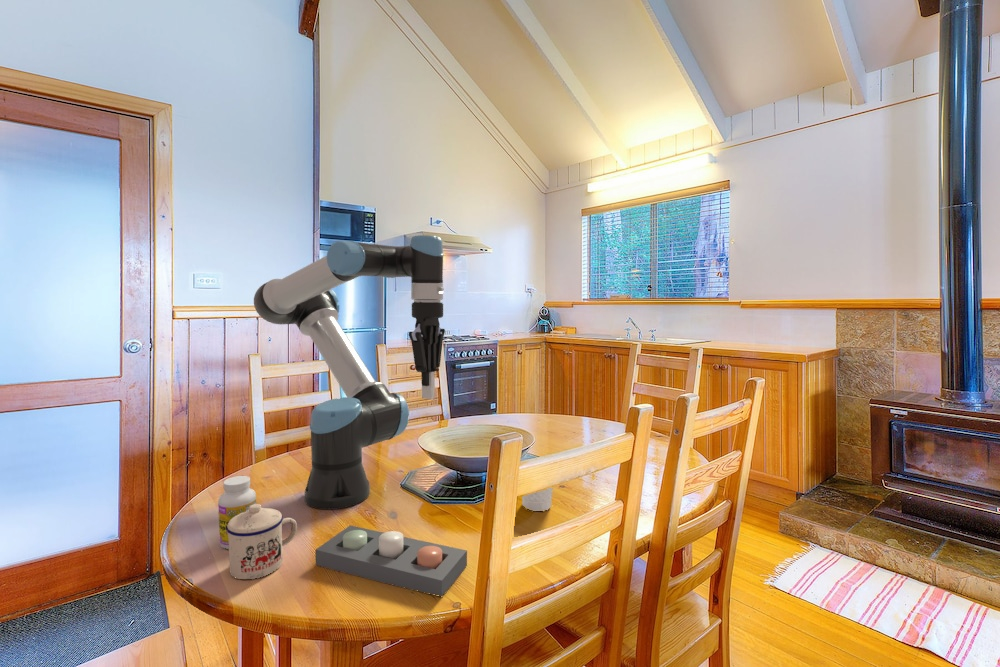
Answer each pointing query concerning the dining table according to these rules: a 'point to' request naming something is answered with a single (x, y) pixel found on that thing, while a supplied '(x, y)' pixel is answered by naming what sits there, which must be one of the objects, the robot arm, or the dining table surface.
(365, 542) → the sage button
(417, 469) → the dining table surface
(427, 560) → the terracotta button
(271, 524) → the teacup with lid
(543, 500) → the white cup
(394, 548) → the cream button
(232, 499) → the supplement bottle
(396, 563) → the button console
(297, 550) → the dining table surface
